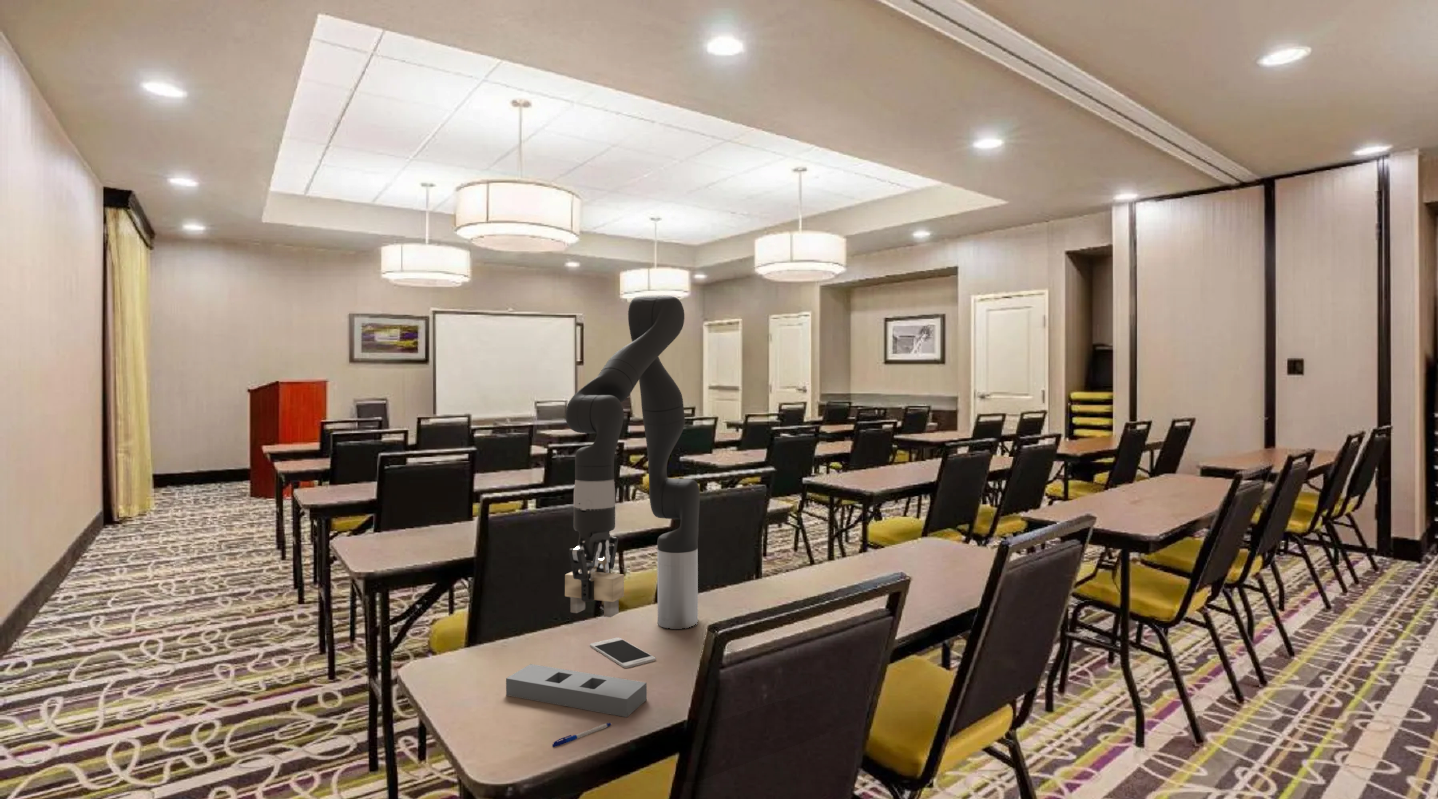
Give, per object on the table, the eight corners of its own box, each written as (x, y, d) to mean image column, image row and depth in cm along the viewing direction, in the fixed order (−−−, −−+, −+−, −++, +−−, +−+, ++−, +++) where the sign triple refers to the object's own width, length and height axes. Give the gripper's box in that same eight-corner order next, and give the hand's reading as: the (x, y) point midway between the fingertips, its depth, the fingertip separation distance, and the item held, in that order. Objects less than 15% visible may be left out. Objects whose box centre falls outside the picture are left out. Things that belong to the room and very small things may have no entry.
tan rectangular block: (564, 612, 134) (565, 574, 134) (576, 606, 138) (576, 569, 138) (613, 618, 130) (613, 579, 130) (623, 612, 134) (624, 574, 134)
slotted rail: (506, 695, 129) (506, 678, 129) (530, 679, 136) (530, 663, 136) (626, 717, 121) (626, 699, 121) (646, 699, 127) (646, 682, 127)
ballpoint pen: (554, 749, 110) (554, 743, 110) (551, 747, 111) (551, 741, 111) (611, 726, 118) (611, 720, 118) (608, 724, 118) (608, 718, 118)
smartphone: (619, 640, 158) (619, 636, 158) (656, 662, 146) (656, 657, 146) (588, 647, 154) (588, 643, 154) (624, 670, 142) (624, 665, 142)
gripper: (596, 498, 142) (596, 586, 142) (554, 508, 129) (554, 606, 129) (631, 500, 139) (630, 590, 139) (592, 510, 126) (591, 610, 126)
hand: (594, 597), depth 134 cm, fingers closed on tan rectangular block, 4 cm apart
